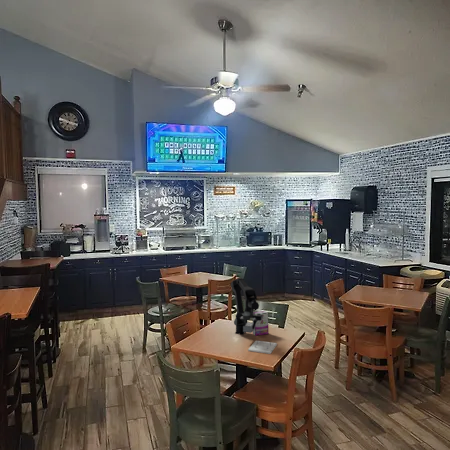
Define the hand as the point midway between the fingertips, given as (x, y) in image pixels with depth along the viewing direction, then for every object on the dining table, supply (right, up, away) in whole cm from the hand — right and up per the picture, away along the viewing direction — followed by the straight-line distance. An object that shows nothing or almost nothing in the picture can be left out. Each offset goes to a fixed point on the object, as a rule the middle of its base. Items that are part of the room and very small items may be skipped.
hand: (249, 328), depth 274 cm
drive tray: (+8, -9, -14) cm, 19 cm away
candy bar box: (+9, -8, +13) cm, 18 cm away
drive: (0, -1, 0) cm, 1 cm away
